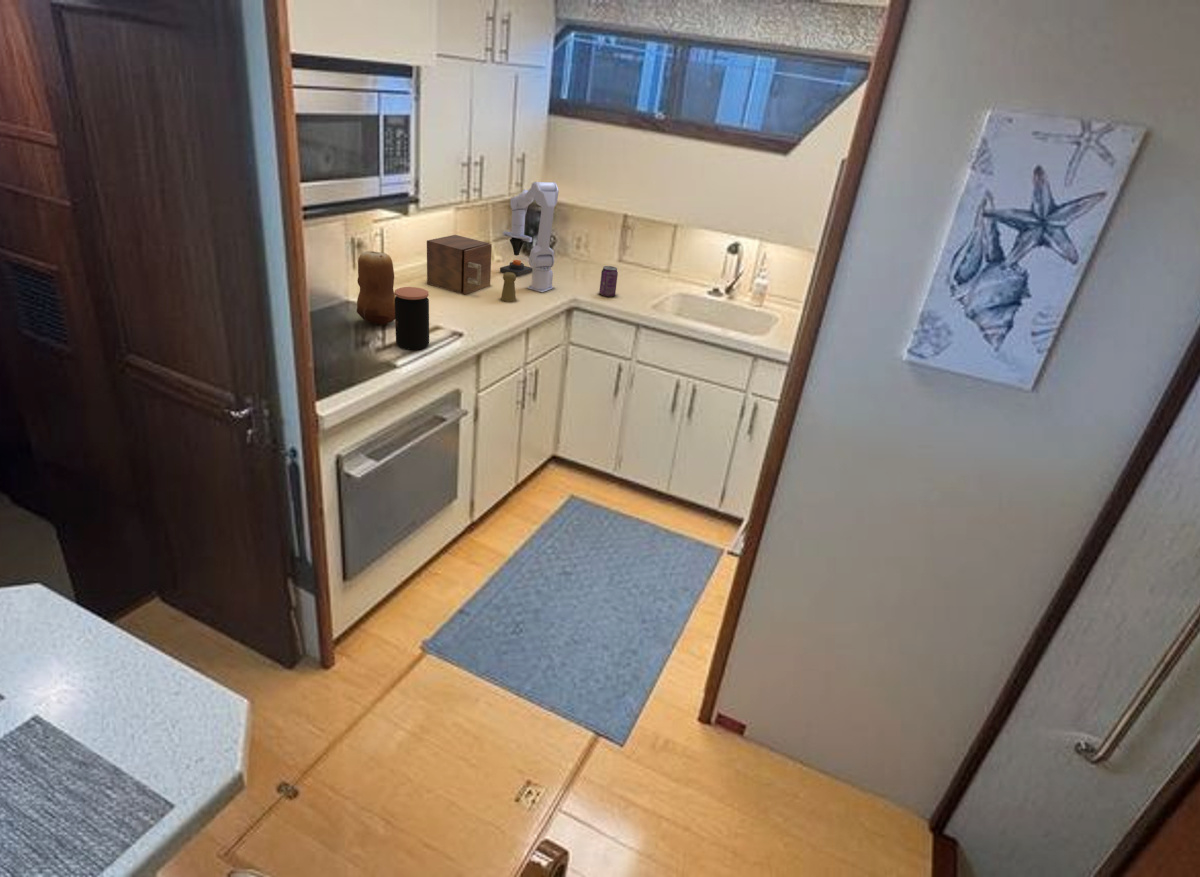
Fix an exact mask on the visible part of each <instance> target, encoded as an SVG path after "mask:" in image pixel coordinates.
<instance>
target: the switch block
mask: <svg viewBox="0 0 1200 877" xmlns="http://www.w3.org/2000/svg"><path fill="white" fill-rule="evenodd" d="M499 272H500V273H501V274H504V273H506V272H511V273H514V274H515V275H516V278H519V277H523V276H525V275H528V274H532V268H531V267H530V266H527V265H525V264H524V263H523V262H521V265H514V264H513V261H511V262H509V264H507V265H505V266H500V268H499Z"/></svg>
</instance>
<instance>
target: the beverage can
mask: <svg viewBox="0 0 1200 877" xmlns="http://www.w3.org/2000/svg"><path fill="white" fill-rule="evenodd" d="M618 272H619V271H618V268H617V267H615V266H612V265H604V266H603V267H602V270H601V274H600V282H599V292H598V293H599V294H600V295H601V296H604V297H613V296H616V293H617V292H616V291H617V285H618V284H617V283H618V276H619V275H618V274H619V273H618Z"/></svg>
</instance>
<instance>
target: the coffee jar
mask: <svg viewBox="0 0 1200 877" xmlns="http://www.w3.org/2000/svg"><path fill="white" fill-rule="evenodd" d="M394 294H395V296H396V297H395V320H394V323H395V324H394V326H395V328H394V329H395V342H396V344H397V346H398V347H399V348H401V349H403V350H408V351H419V350H423V349H426V348H427V347H428V345H429V344H430V300H429V298H428V297H429V296H430V295H429V294H430V292H429V290H427V289H425V288H421V287H416V286H404V287H398V288H397V289H394Z"/></svg>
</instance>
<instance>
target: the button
mask: <svg viewBox="0 0 1200 877" xmlns="http://www.w3.org/2000/svg"><path fill="white" fill-rule="evenodd" d="M512 262H513V264H514V265H521V263H522V260H521V259H520V260H519V259H513V260H512Z"/></svg>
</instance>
